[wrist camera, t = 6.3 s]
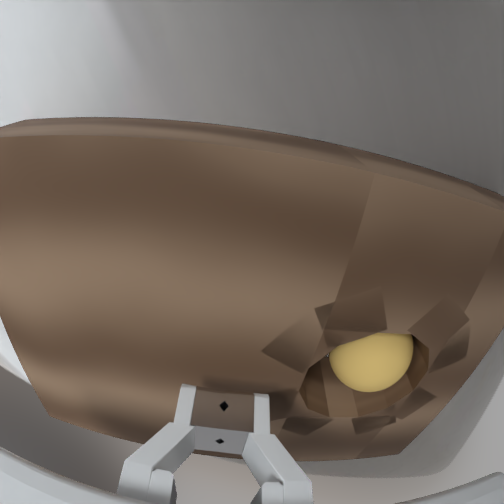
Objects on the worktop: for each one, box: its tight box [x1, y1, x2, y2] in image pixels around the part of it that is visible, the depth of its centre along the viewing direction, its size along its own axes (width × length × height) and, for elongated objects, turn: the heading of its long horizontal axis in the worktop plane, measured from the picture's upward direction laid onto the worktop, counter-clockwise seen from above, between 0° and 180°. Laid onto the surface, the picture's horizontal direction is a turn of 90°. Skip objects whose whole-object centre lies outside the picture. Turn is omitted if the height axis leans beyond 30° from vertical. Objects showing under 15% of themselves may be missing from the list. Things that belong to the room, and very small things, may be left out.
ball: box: [329, 333, 413, 392], centre depth 13 cm, size 4×4×4 cm
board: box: [0, 117, 504, 461], centre depth 13 cm, size 16×22×4 cm
